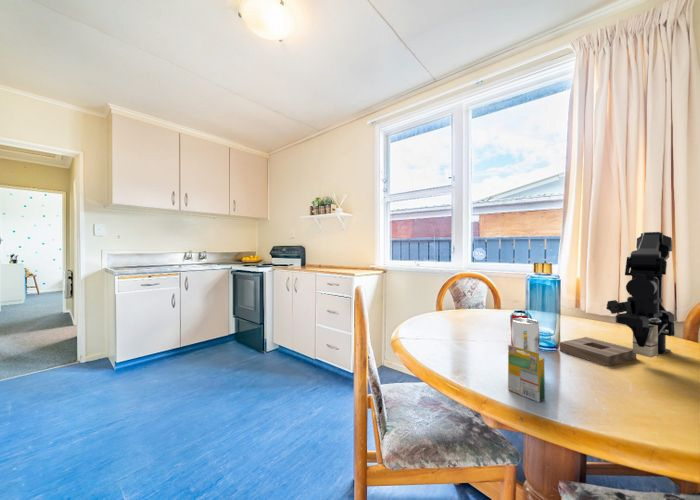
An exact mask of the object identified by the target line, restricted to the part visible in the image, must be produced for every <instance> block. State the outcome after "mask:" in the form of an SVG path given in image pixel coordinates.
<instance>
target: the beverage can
mask: <svg viewBox="0 0 700 500" xmlns="http://www.w3.org/2000/svg"><path fill="white" fill-rule="evenodd" d="M514 318H528V315H527V314H526V313H522V312H513V313H511V315H510V331H511V332H510V336H511V337H510V340H511V341H510V342H511V346H513V342H512V321H513V320H512V319H514ZM528 319H529V318H528Z"/></svg>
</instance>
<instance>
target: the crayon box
mask: <svg viewBox="0 0 700 500" xmlns="http://www.w3.org/2000/svg"><path fill="white" fill-rule="evenodd" d="M507 350H508V352H507V354H508V355H507V356H508V357H507V362H508V363H507V373H508V374H507V376H508V377H507V389H508V391H509V392H513V393H515V394H518V395H520V396H522V397H525V398H528V399H530V400H532V401H534V402H537V403H541V402H543V401H544V400H545V399H546V397H545V396H546V395H545V392H546V390H545V387H546V385H545V381H546V379H545V378H546V377H545V370H546V369H545V358H542V357H540V353H539V352H538V353H536V352H532V351H528V350H525V349H521V348H518V347H514V346H512V345H510V344H508V346H507ZM517 350H519V351H524V352H526V353H529V354H530V355H528V354H525V353H521V352H518V351H517Z"/></svg>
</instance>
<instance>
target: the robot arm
mask: <svg viewBox="0 0 700 500" xmlns="http://www.w3.org/2000/svg"><path fill="white" fill-rule="evenodd" d="M663 233H664V232H661V231H647V232H645V231H644V232H642V233H640V236H638V237H637V238H636V246H635V248H636V250H633V251H631V252H630V254H629V256H627V257H626V263H625V268H624V276H627V277H629V276H630V277H631V280H629V281H628V282H627V283H626V285H625V290H626V291H627V294H629V295H630V296H628V297H627V299H626V301H617V300H616V299H614V300H608V301H607V302H606V303H607V304H606V310H608V311H610V314H612V315H614V314H616V315H615V323H616V324H620V325H625V326H627V327H628V328H629V329H630V330H631V331H632V335H633V334H634V336H635V339H636V341H637V344H638V346H639V347H644V346H645V344H646V342H647V340H648V338H649V336H650V334H651V332H652V329H653V326H649V324H651V325H657V326H658V354H661V355H664V354H666V353H670V352H672V350H671V349H668V348H666V347H667V346H666V345H667V344H666V343H667V342H666V341H667V338H666V336H668V337H674V336H675V332H676V331H675V329H676V328H675V314H674V313H672V312H671V311H668V310H666V309H665V307H664V306H663V277H664V275H665V276H666V275H667V268H668V267H667V266H668V264H667V263H668V261H667V260H668V259H669V258H670V252H673V240H672V237H670V236H667V235H665V234H663Z"/></svg>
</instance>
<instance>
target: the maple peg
mask: <svg viewBox="0 0 700 500" xmlns="http://www.w3.org/2000/svg"><path fill="white" fill-rule="evenodd" d="M649 326H653V329H652V332H651V334H650V336H649V338H648V340H647V342H646V344H645V346H644V347H639V346H638V344H637V341H636V339H635V336H634V334H633V333H632V349H633V353H635V354H636V355H640V356H643V357H647V358H654V357H658V356H659V353H658V326H657V325H651V324H649Z"/></svg>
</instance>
